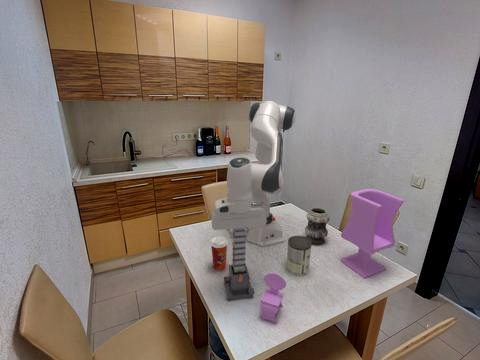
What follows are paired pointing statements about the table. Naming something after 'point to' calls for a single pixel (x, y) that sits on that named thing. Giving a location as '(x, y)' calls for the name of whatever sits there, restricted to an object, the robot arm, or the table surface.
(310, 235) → the apothecary jar
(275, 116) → the robot arm
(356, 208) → the purple pedestal armchair
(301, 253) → the coffee can
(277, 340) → the table surface
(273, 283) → the toy chair
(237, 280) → the stand
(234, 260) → the column
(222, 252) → the paper cup
